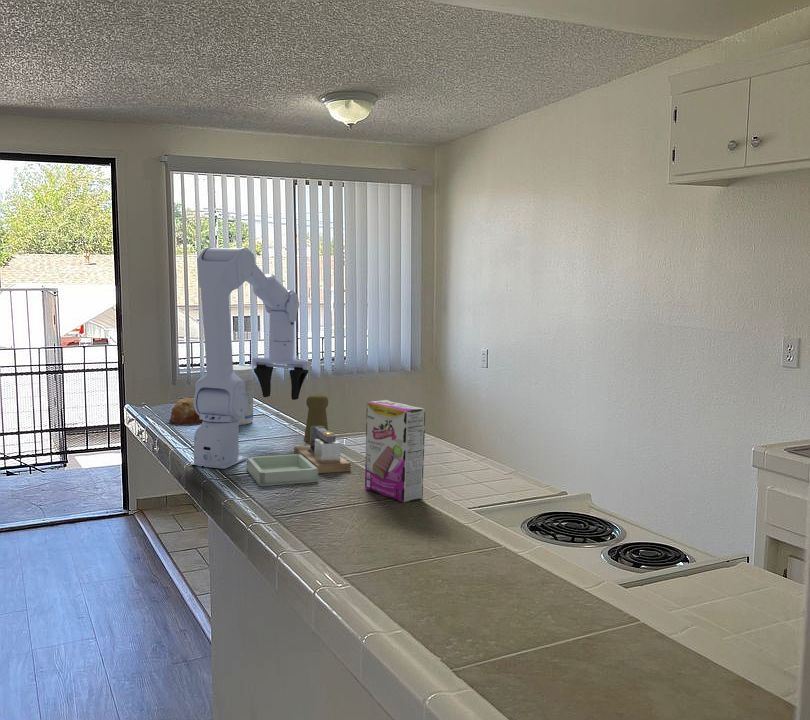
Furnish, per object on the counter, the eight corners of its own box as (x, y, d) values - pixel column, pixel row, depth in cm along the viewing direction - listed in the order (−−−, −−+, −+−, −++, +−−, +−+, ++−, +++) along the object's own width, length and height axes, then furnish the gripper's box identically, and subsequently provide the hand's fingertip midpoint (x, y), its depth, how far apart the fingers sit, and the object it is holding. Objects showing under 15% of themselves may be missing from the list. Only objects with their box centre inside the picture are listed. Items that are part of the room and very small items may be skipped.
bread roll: (174, 431, 204) (161, 405, 202) (209, 413, 208) (196, 388, 206) (180, 438, 195) (166, 411, 193) (216, 420, 199) (203, 393, 197)
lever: (308, 447, 162) (308, 425, 162) (321, 446, 164) (322, 424, 163) (323, 459, 152) (324, 435, 151) (338, 458, 153) (338, 434, 153)
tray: (246, 469, 151) (246, 457, 151) (300, 465, 155) (300, 453, 155) (260, 486, 139) (260, 473, 139) (318, 481, 143) (318, 468, 143)
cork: (324, 443, 177) (325, 397, 176) (300, 441, 178) (301, 395, 177) (332, 438, 183) (333, 393, 182) (308, 436, 184) (309, 392, 183)
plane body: (293, 453, 166) (293, 445, 166) (324, 451, 169) (324, 443, 169) (316, 473, 150) (316, 463, 149) (350, 470, 152) (350, 461, 152)
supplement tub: (242, 418, 206) (243, 364, 205) (259, 424, 199) (260, 368, 197) (209, 421, 200) (209, 366, 199) (225, 427, 193) (226, 370, 191)
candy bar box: (362, 489, 139) (365, 401, 137) (383, 485, 142) (386, 399, 141) (402, 504, 131) (405, 410, 129) (424, 499, 134) (427, 407, 132)
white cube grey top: (314, 457, 156) (314, 439, 156) (333, 455, 158) (333, 438, 158) (321, 462, 152) (321, 444, 151) (340, 461, 153) (340, 442, 153)
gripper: (316, 341, 179) (315, 398, 181) (263, 338, 184) (262, 393, 186) (303, 343, 173) (302, 402, 174) (247, 339, 178) (247, 397, 179)
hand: (280, 398), depth 179 cm, fingers open, 7 cm apart
